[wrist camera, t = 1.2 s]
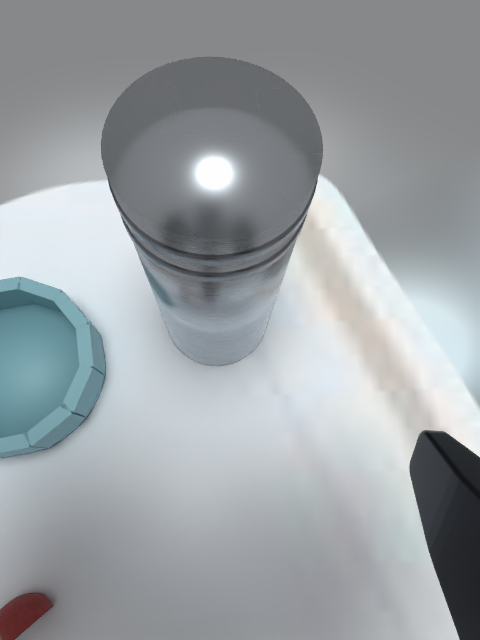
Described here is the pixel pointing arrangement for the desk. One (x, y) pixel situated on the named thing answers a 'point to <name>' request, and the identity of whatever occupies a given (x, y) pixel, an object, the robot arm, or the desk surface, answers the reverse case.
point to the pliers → (22, 614)
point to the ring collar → (44, 366)
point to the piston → (213, 194)
